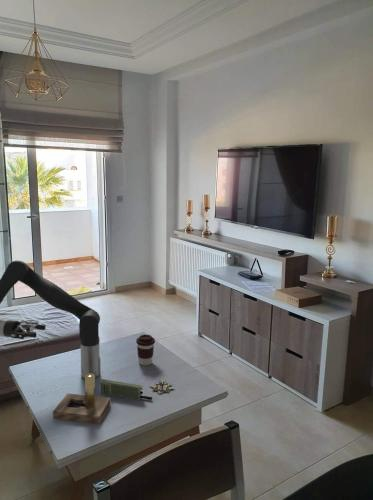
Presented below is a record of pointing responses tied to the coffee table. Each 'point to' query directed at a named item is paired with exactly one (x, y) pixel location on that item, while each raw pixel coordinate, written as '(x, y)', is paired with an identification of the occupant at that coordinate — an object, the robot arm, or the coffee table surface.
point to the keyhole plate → (81, 409)
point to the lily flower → (161, 387)
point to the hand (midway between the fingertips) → (40, 331)
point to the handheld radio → (122, 389)
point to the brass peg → (90, 390)
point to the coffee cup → (145, 349)
